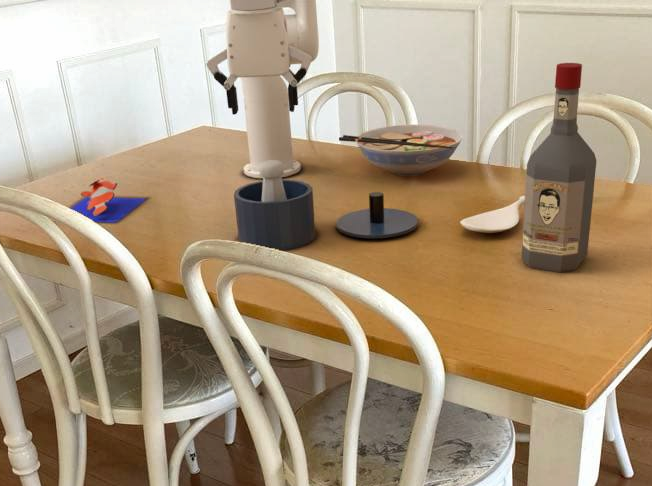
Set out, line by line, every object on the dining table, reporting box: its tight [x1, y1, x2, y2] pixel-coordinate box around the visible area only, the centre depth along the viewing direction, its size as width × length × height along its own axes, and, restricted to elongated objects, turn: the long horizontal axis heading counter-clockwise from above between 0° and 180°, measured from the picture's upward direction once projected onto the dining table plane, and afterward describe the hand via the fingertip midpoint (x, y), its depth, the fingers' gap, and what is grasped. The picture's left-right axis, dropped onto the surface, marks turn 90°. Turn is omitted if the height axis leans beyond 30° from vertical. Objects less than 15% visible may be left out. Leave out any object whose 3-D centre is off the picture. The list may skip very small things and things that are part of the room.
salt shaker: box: [259, 160, 287, 202], centre depth 154 cm, size 6×6×13 cm
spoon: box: [459, 195, 525, 234], centre depth 161 cm, size 9×32×4 cm, turn 135°
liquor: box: [521, 62, 597, 273], centre depth 134 cm, size 9×9×30 cm
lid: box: [335, 191, 419, 239], centre depth 158 cm, size 15×15×6 cm
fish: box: [80, 177, 118, 217], centre depth 174 cm, size 13×5×9 cm
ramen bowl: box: [338, 124, 464, 177], centre depth 187 cm, size 25×23×8 cm
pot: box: [233, 178, 316, 251], centre depth 155 cm, size 14×14×8 cm
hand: (263, 111), depth 148 cm, fingers open, 9 cm apart
